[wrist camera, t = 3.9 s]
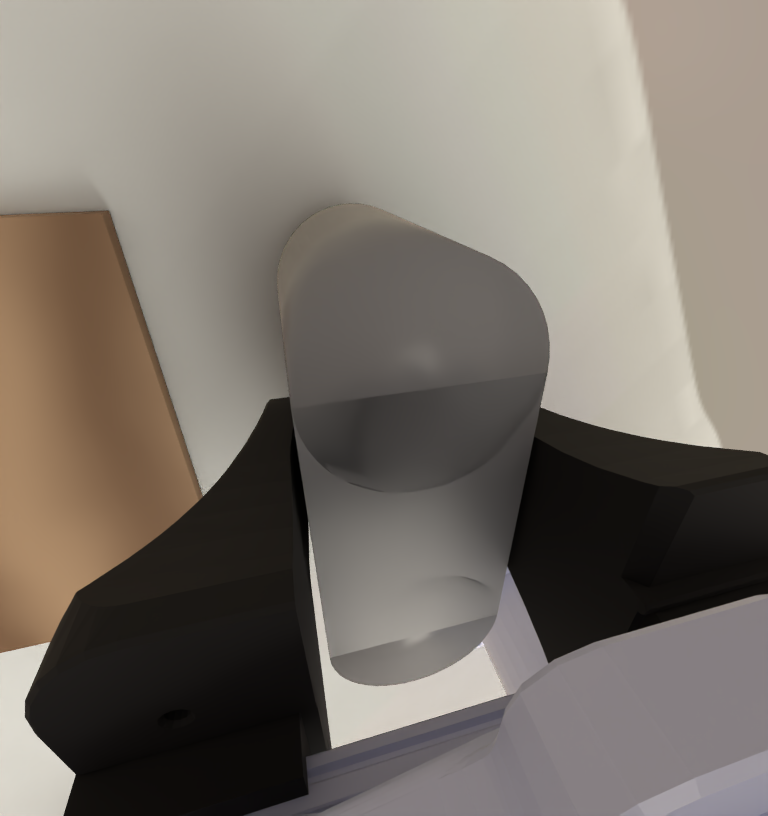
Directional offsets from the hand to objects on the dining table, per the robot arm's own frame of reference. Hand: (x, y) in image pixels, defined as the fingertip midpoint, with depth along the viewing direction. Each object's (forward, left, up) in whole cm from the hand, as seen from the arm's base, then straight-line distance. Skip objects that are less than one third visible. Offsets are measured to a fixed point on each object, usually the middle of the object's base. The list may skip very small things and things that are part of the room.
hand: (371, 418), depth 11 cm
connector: (0, 0, -2) cm, 2 cm away
